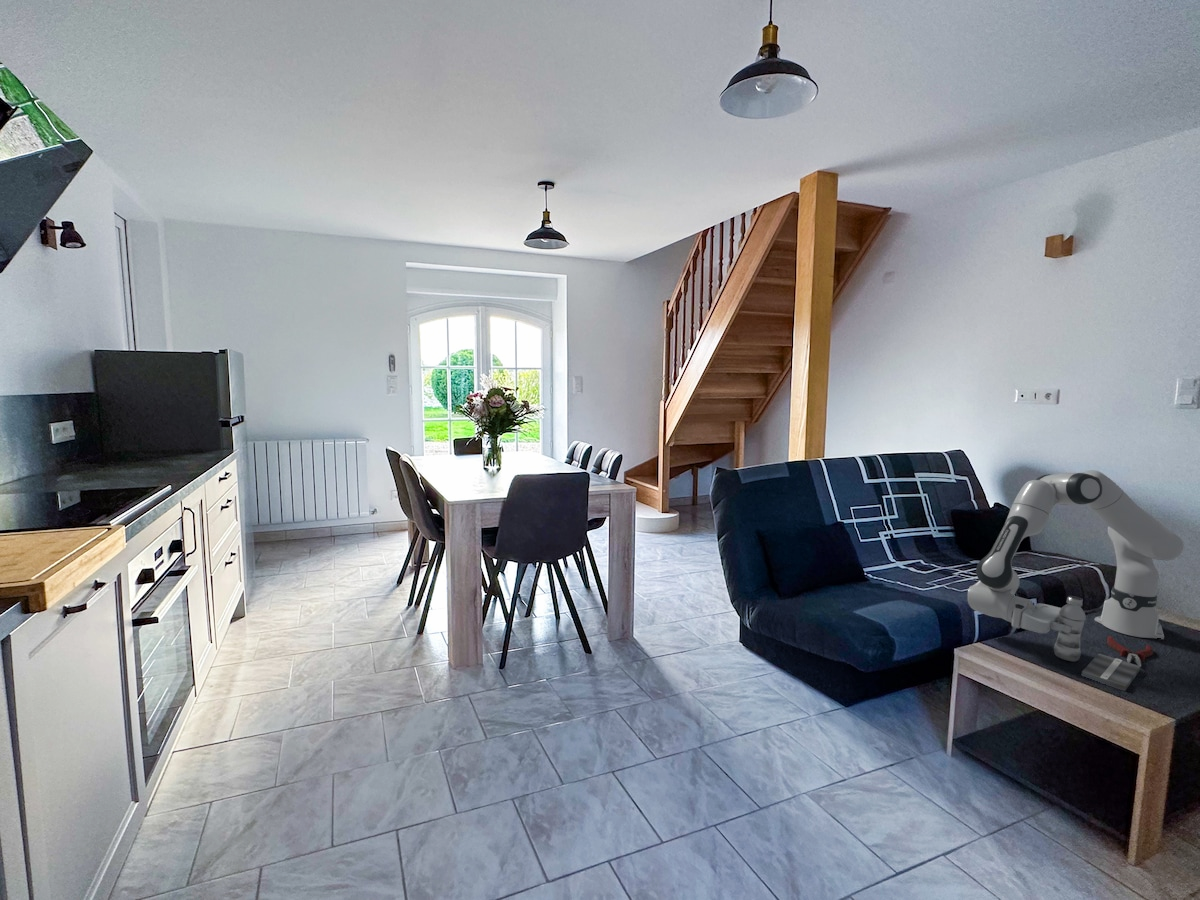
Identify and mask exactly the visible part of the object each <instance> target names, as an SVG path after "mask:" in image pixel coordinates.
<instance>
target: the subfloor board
mask: <svg viewBox="0 0 1200 900" xmlns="http://www.w3.org/2000/svg"><path fill="white" fill-rule="evenodd" d="M1140 671H1141V667H1140V666H1139V665H1137V664H1136V663H1135V664H1134V663H1128V662H1127V661H1125V660H1123V659H1120V658H1117V657H1116V658H1115V657H1113V656H1112V657H1111V656H1108V655H1104V654H1101V653H1098V654H1096V656H1095V657H1094V658H1093V659H1092V660H1091V661H1090V662H1089V663H1088V664H1087V666H1085V668H1083V670H1082V671H1081V675H1082V676H1085V677H1087V678H1090V679H1092V680H1091V681H1093V680H1095V681H1094V682H1096V681H1098V682H1097V683H1099V682H1100V684H1103V685H1105V684H1106V686H1108V687H1112V688H1114V689H1118V690H1120V691H1123V692H1126V691H1127V689H1128V688H1129V687H1130V685H1131V683H1133V681H1134V679H1135V678H1136V676H1138V674H1139V672H1140ZM1081 675H1080V676H1081ZM1087 678H1086V679H1087ZM1090 679H1089V680H1090Z"/></svg>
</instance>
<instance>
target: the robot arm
mask: <svg viewBox="0 0 1200 900" xmlns="http://www.w3.org/2000/svg"><path fill="white" fill-rule="evenodd" d="M1056 505H1059V506H1071V505H1080V506H1081V505H1086V506H1087V507H1088V508H1089V509H1090V510H1091V511H1092V512H1093V513H1094V514H1095V515H1096V516H1097V517H1098V518H1099V519H1100V521H1101V522H1102V523H1103V524H1105V525H1106V526H1108V527H1107V535H1108V538H1109V539H1110V540H1111V543H1112V544H1113V545H1112V546H1113V548H1114V552H1115V553H1114V554H1115V559H1116V572H1115V580H1114V585H1113V586H1112V589H1111V591H1110V593H1111V594H1110V596H1111V597H1110V598H1108V599H1106V600H1104V602H1103V606H1102V607H1103V608H1102V612H1101V615H1099V616H1095V618H1094V622H1097V623H1099V624H1101V625H1102V626H1104V627H1105V628H1108V629H1109V630H1111V631H1114V632H1117V633H1120V634H1124V635H1126V636H1127V635H1128V636H1131V637H1136V638H1145V639H1157V638H1161V639H1160V640H1165V635H1164V631H1163V627H1162V625H1161V623H1160V622H1159V620H1160V613H1159V612H1158V610H1157V609H1156V607H1157V606H1156V605H1157V603H1158V596H1157V590H1158V584H1159V580H1160V574H1159V573H1160V572H1159V571H1158V569H1157V568H1156V566H1155V564H1154V560H1158V561H1172V560H1175V559H1177V558H1178V557H1180V556H1181V554H1182V553H1183V551H1184V547H1185V546H1184V541H1183V540H1182V539H1181V537H1180V536H1179V535H1178V534H1176V533H1174V532H1173V531H1171V530H1170V529H1168V528H1167V527H1166V526H1165V525H1164V524H1162V523H1161V522H1160V521H1159V520H1158V519H1156V518H1154V517H1153V516H1152V515H1151V514H1150V513H1148V512H1147V511H1145V510H1144V509H1142V508H1141V507H1140V506H1139V505H1138V504H1137V503H1135V501H1134V500H1133V499H1132V498H1131V497H1130V496H1129V495H1128V494H1127V493H1126V492H1125V491H1124V490H1123V489H1122V488H1121V487H1120V486H1119V485H1118V484H1117V483H1116V482H1115V481H1113V479H1111V478H1110V477H1108V476H1107V475H1106V474H1104V473H1103V472H1101V471H1099V470H1093V469H1092V470H1086V471H1084V472H1077V473H1076V472H1059V473H1053V474H1050V473H1049V474H1043V475H1040V476H1039V477H1037V478H1035V479H1032V480H1028V481H1027V482H1025V483H1024V484H1023V486H1022V487H1021V488H1020V490H1019V491H1018V493H1017V495H1016V497H1014V500H1013V502H1012V505H1011V507H1010V509H1009V513H1008V515H1007V518H1006V519H1005V522H1004V524H1003V527H1002V528H1001V531H1000V532H999V534H998V536H997V538H996V540H995V542H994V543H993V545H992V547H991V549H990V550H989V552H988V553H987V554H986V555H985V556H984V557H982V559H981V560H980V561H979V562H978V563H977V565H976V567H975V568H976V569H975V573H976V577H977V579H978V581H977V582H976V583H974V584H973V585H970V586H969V587H968V589H967V592H966V599H967V600H966V601H967V604H968V606H969V607H970V608H971V609H972V610H974V611H976V612H978V613H980V614H983V615H986V616H989V617H993V618H999V619H1002V620H1005V621H1007V622H1009V623H1011V627H1012V628H1015V629H1020V628H1021V629H1023V630H1026V631H1030V632H1034V633H1037V634H1048V633H1049V632H1050V631H1051V630H1053V631H1058V632H1059V631H1065V632H1068V633H1070V632H1071V631H1072V627H1071V626H1069V625H1066V624H1065V625H1062V624H1059V611H1060V609H1061V608H1062V607H1058V606H1054V605H1052V604H1051V605H1050V604H1045V603H1040V602H1039V603H1037V604H1034V603H1033V601H1032V600H1031V599H1028V598H1024V597H1021V596H1017V595H1016V593H1017V591H1018V589H1019V587H1020V584H1021V582H1020V581H1021V580H1020V577H1019V575H1018V573H1017V572H1016V571H1015V570H1014V569H1013V567H1012V566H1013V565H1012V562H1013V559H1014V556H1015V555H1016V553H1017V551H1018V549H1019V547H1020V544H1021V542H1022V541H1023V540H1024V539H1026V538H1027V537H1032V536H1036V535H1039V534H1040V533H1042V531H1043V529H1044V528H1045V527H1046V525H1047V523H1048V521H1049V519H1050V518H1051V514H1052V512H1053V509H1054V506H1056Z"/></svg>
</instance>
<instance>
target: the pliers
mask: <svg viewBox="0 0 1200 900" xmlns="http://www.w3.org/2000/svg"><path fill="white" fill-rule="evenodd" d="M1106 640H1107V641H1106V642H1107V646H1109V647H1110V648H1111V649H1113V650H1115V651H1116V652H1117V653H1119V654H1120V655H1119V656H1120V657H1125V658H1126V662H1128V663H1131V662H1132V661H1133V662H1134V663H1135V665H1138V666H1140V668H1142V662H1145V659H1146V658H1148V657H1151V656H1153V654H1154V650H1153V648H1152V646H1151V645H1150V644H1146V646H1145V649H1141V650H1138V651H1135V652H1132V651H1131V650H1130V649H1128V648H1126V647H1125V646H1123V645H1122V644H1120V643H1118V642H1117V641H1115V640H1114V637H1113V636H1112V635H1109V636H1108V637H1107V638H1106ZM1131 664H1132V663H1131Z"/></svg>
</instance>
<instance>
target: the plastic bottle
mask: <svg viewBox="0 0 1200 900" xmlns="http://www.w3.org/2000/svg"><path fill="white" fill-rule="evenodd" d="M1083 601H1084V600H1083V598H1081V597H1078V596H1074V595H1068V596H1067V598H1066V601H1065V603H1067V604H1065V605H1063V606H1062V607H1060V608H1061V609H1060V611H1059V624H1062V625H1065V624H1066V625H1069V626H1071V627H1072V631H1071V632H1070V633H1068V632H1065V631H1058V632H1057V633H1058V634H1057V638H1056V641H1055V642H1054V646H1053V653H1054V655H1055V656H1056V657H1057V658H1059V659H1061V660H1064V661H1067V662H1077V661H1079V659H1080V658H1081V655H1082V654H1081V652H1082V651H1081V636H1082V631H1083V628H1084V624H1085V622H1086V618H1087V616H1086V613H1085V611H1084V610H1083V608H1082V607H1083Z"/></svg>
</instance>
